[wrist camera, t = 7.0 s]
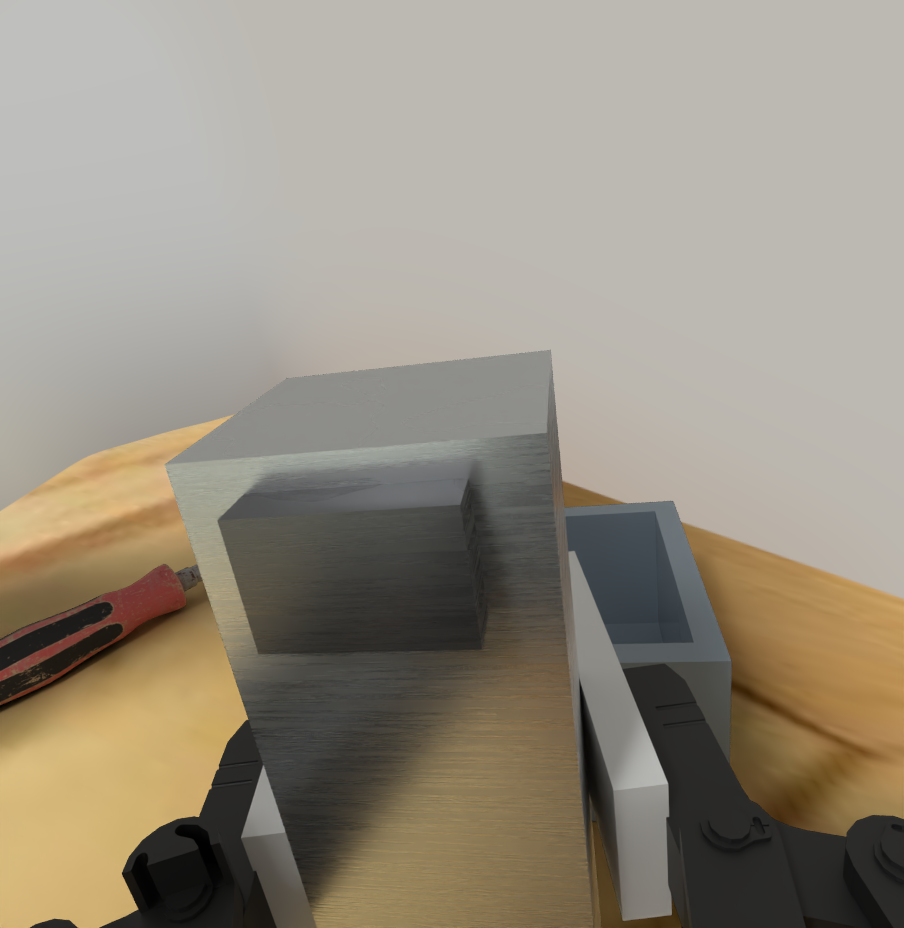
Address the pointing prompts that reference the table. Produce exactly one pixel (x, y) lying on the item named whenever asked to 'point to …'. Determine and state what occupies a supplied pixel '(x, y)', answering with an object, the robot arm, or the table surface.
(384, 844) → the brushed metal post
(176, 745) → the table surface
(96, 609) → the screwdriver
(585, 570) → the caddy
